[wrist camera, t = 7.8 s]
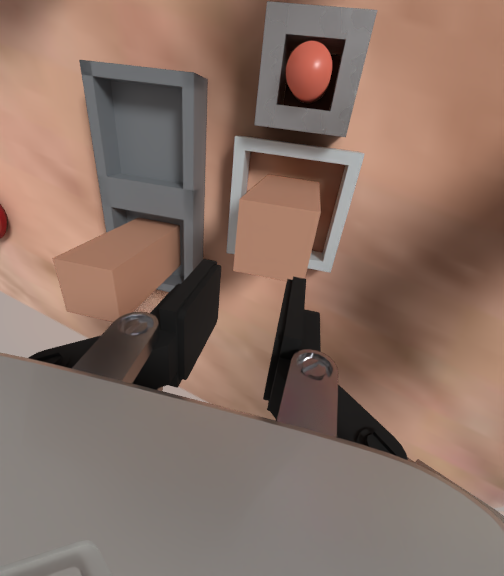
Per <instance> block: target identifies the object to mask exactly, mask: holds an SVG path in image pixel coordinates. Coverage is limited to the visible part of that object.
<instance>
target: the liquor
mask: <svg viewBox="0 0 504 576" xmlns="http://www.w3.org/2000/svg"><path fill="white" fill-rule="evenodd" d="M6 226H7V216H6V213H5V210H4V209H3V207H2V206H1V204H0V238H2V237H3V236H4V234H5V232H6Z"/></svg>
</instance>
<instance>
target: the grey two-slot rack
mask: <svg viewBox="0 0 504 576" xmlns="http://www.w3.org/2000/svg"><path fill="white" fill-rule="evenodd" d="M80 67H81V73H82V80H83V86H84V92H85V99H86V105H87V111H88V118H89V124H90V131H91V137H92V143H93V150H94V156H95V162H96V169H97V175H98V182H99V188H100V194H101V201H102V207H103V213H104V220H105V226H106V232H109V231H111V230H113V229H115V228H117V227H120V226H122V225H124V224H126V223H128V222H130V221H132V220H134V219H136V218H143V219H149V220H155V221H160V222H166V223H171V224H177V225H180V262H181V265H180V266H179V267H178V268H177V269H176V270H175V271H174V272H173V273H172V274H171V275H170V276H169V277H168V278H167V279H166V280H165V281H164V282H163V283H162V284H161V285H160V286H159V287H158V288H157V290H162V291H167V292H170V291H171V290H172V289H173V288H174V287H175V286H176V285H177V284H181V283H182V282H183V281H184V280H185V279H186V278H187V277H188V276H189V275H190V273H191V272H192V271H193V270H194V269H195V268H196V267H197V266H198V264H199V263H200V262H201V261H202V260H203V234H204V197H205V159H206V121H207V84H208V79H206V78H204V77H202V76H200V75H198V74H196V73H193V72H184V71H175V70H166V69H157V68H149V67H140V66H131V65H122V64H113V63H104V62H95V61H86V60H80Z"/></svg>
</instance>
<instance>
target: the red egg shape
mask: <svg viewBox="0 0 504 576" xmlns="http://www.w3.org/2000/svg"><path fill="white" fill-rule="evenodd" d="M331 73H332V59H331V55H330V53H329V51H328V49H327V48H326V47H325V46H324V45H323V44H321V43H320V42H317V41H307V42H304V43H302V44H300V45H299V46H298V47H297V48H295V50H294V51H293V52H292V54H291V55H290V57H289V59H288V62H287V66H286V80H287V83H288V86H289V88H290V89H291V91H292V93H293V94H294V96H295V97H296V99H297V100H299V101H300V102H302V103H305V104H310V103H314V102H316V101H318V100H319V99H320V98H321V97H322V96H323V95H324V94H325V92H326V90H327V88H328V85H329V81H330V77H331Z"/></svg>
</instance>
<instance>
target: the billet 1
mask: <svg viewBox="0 0 504 576" xmlns="http://www.w3.org/2000/svg"><path fill="white" fill-rule="evenodd" d="M53 262H54V266H55V269H56V273H57V277H58V280H59V284H60V288H61V291H62V295H63V299H64V302H65V306H66V310H67V312H72V313H76V314H80V315H85V316H89V317H93V318H98V319H102V320H106V321H111V322H114V321H115V320H116V319H118V318H119V317H121V316H123V315H125V314H128V313H132V312H133V311H134V310H135V309H136V308H137V307H138V306H139V305H140V304H141V303H142V302H143V301H144V300H145V299H146V298H147V297H149V296H150V295H151V294H152V293H153V292H154V291H155V290H156V289H157V288H158V287H159V286H160V285H161V284H162V283H163V282H164V281H165V280H166V279H167V278H168V277H169V276H170V275H171V274H172V273H173V272H174V271H175V270H176V269H177V268H178V267H179V266H180V265H181V262H180V225H177V224H171V223H166V222H160V221H155V220H149V219H143V218H136V219H134V220H132V221H130V222H128V223H126V224H124V225H122V226H120V227H117V228H115V229H113V230H111V231H109V232H107V233H105V234H103V235H101V236H98V237H96V238H94V239H92V240H90V241H88V242H86V243H84V244H82V245H79V246H77V247H75V248H73V249H71V250H69V251H67V252H65V253H63V254H61V255H58V256H56V257H54V258H53Z"/></svg>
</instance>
